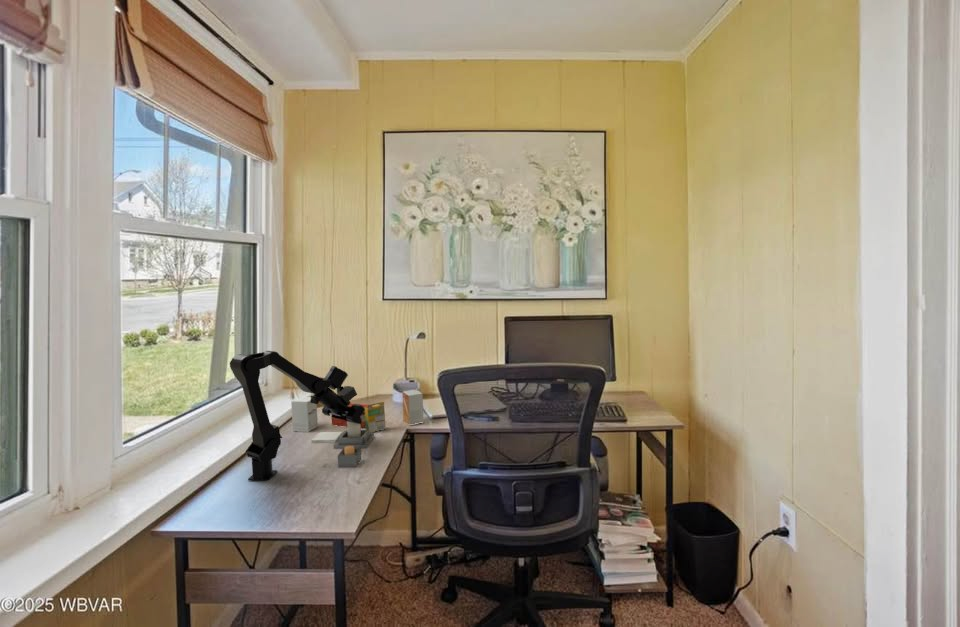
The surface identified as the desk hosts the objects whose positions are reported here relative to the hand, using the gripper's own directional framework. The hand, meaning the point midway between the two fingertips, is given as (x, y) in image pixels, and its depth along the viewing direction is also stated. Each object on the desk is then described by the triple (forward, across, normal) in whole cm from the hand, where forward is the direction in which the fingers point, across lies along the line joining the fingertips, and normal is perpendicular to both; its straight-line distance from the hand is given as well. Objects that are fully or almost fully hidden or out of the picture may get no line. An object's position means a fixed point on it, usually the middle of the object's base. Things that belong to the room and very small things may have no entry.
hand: (356, 421), depth 177 cm
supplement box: (+4, +30, +7) cm, 31 cm away
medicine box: (+14, +19, -3) cm, 24 cm away
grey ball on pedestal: (+4, 0, +6) cm, 8 cm away
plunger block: (-5, -15, +16) cm, 23 cm away
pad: (+2, +13, +8) cm, 15 cm away
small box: (+25, -2, -14) cm, 29 cm away
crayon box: (+14, +4, -3) cm, 15 cm away
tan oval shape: (-6, -15, +16) cm, 22 cm away
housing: (+4, 0, +6) cm, 8 cm away
